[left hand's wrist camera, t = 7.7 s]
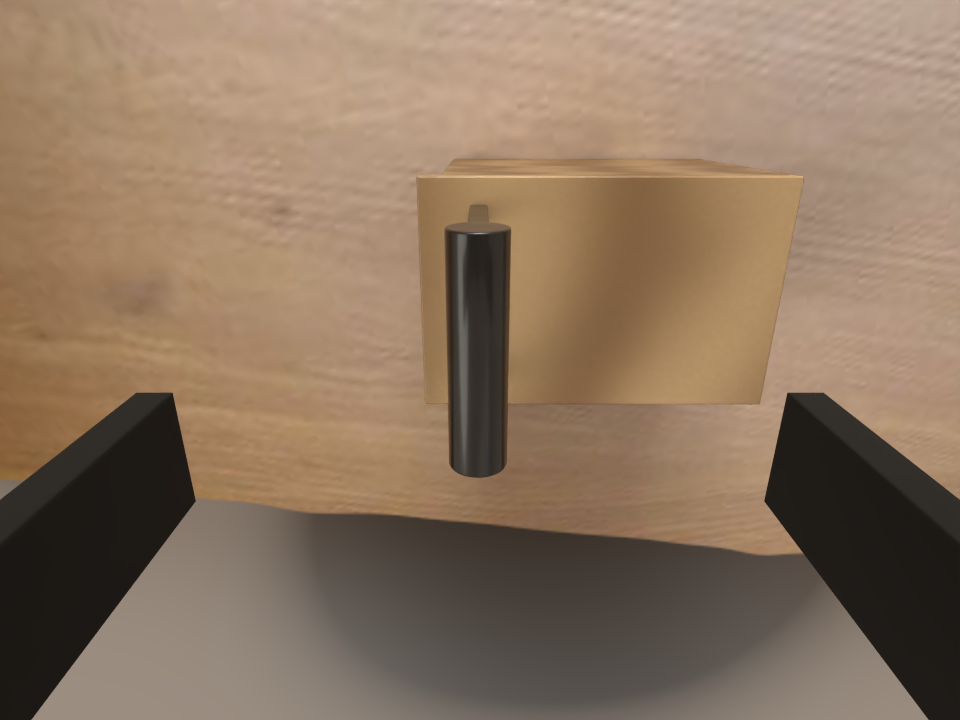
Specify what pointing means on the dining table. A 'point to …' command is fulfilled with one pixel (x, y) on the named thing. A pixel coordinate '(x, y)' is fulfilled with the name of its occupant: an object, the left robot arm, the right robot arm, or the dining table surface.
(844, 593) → the left robot arm
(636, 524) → the dining table surface
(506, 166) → the chest
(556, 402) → the lid
